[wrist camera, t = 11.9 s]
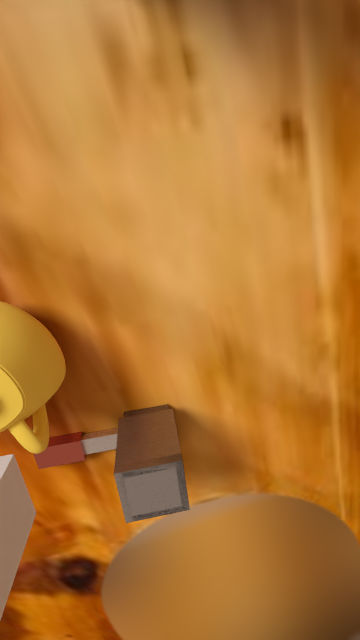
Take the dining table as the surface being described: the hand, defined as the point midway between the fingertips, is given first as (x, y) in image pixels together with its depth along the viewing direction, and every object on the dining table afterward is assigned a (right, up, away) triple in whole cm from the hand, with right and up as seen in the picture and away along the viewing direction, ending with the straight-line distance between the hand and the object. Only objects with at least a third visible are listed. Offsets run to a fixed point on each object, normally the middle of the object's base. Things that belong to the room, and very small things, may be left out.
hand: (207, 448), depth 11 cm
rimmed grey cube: (-5, -11, +30) cm, 32 cm away
